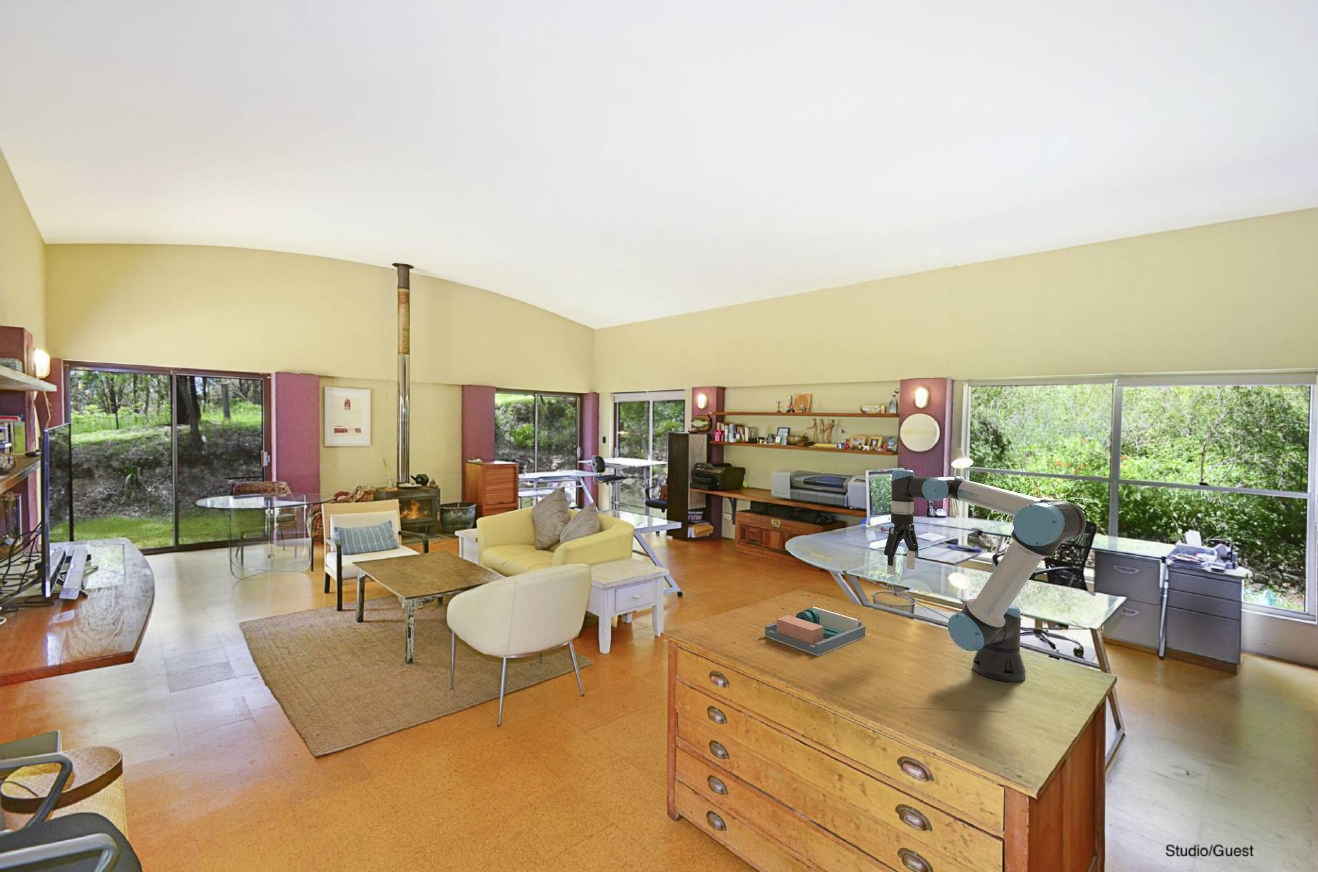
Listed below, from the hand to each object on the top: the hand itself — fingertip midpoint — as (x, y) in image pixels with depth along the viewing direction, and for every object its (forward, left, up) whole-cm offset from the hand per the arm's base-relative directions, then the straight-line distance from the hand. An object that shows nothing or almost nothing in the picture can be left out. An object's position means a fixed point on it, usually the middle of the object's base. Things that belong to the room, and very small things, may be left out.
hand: (901, 571), depth 212 cm
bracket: (+10, -27, -28) cm, 40 cm away
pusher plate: (0, -27, -28) cm, 39 cm away
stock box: (+23, -27, -29) cm, 45 cm away
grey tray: (+13, -27, -29) cm, 41 cm away
